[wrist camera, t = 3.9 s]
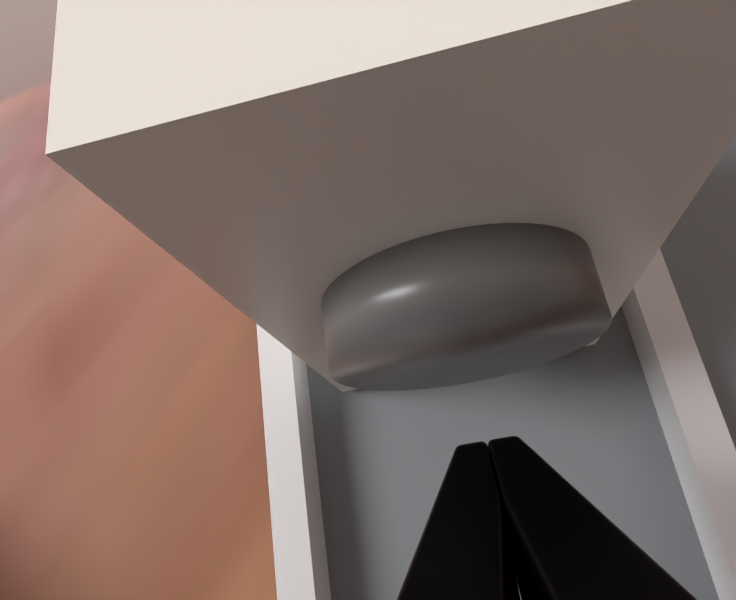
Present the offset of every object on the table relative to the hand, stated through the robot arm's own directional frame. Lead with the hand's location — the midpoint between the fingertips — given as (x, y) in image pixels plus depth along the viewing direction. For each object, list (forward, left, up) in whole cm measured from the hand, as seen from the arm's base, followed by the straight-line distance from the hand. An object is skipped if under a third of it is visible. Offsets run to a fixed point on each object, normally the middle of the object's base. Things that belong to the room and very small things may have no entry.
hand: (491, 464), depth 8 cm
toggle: (+4, -2, -5) cm, 7 cm away
